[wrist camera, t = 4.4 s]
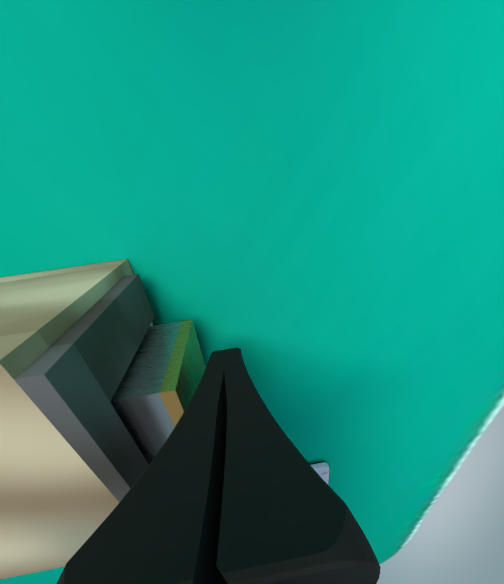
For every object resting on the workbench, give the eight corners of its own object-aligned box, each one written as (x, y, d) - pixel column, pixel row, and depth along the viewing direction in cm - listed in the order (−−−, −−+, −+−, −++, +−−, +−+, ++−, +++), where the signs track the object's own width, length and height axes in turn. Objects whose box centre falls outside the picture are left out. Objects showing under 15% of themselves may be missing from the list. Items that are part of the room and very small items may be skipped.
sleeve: (193, 402, 15) (173, 544, 9) (27, 431, 14) (-108, 600, 8) (140, 257, 10) (29, 356, 4) (-107, 293, 10) (-595, 457, 4)
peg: (209, 379, 12) (203, 459, 9) (-45, 422, 12) (-163, 527, 8) (192, 319, 10) (175, 390, 7) (-110, 367, 10) (-298, 471, 6)
